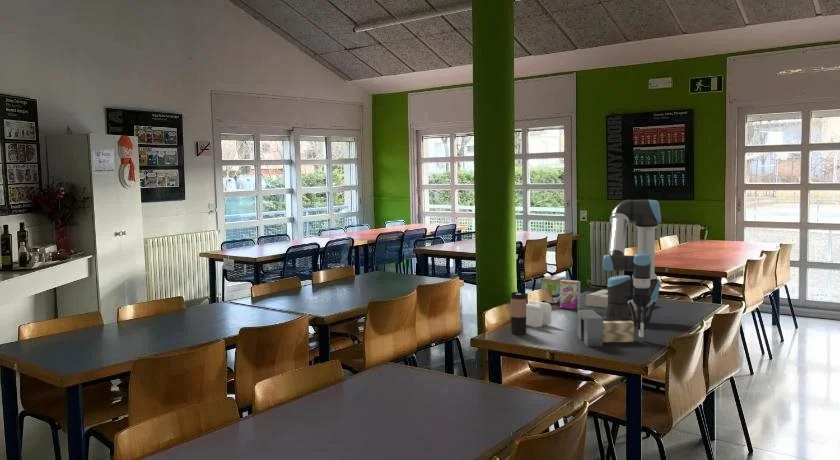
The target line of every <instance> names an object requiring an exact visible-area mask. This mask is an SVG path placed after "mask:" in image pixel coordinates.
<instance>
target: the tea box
mask: <svg viewBox="0 0 840 460" xmlns="http://www.w3.org/2000/svg"><path fill="white" fill-rule="evenodd" d="M565 277H566V276H558V275H549V276H546V277H541V287H540V288H541V289H544V288H548V289H551V292H552V293H551V294H552V298H553V300H554V302H553V301H548V302H547V303H549V304H557V303H559V294H560V280H566V278H565ZM541 289H540V290H541Z"/></svg>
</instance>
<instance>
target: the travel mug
mask: <svg viewBox="0 0 840 460" xmlns="http://www.w3.org/2000/svg"><path fill="white" fill-rule="evenodd" d="M526 304H527V293H526V292H522V291H514V292H513V291H512V292H511V293H510V327H511V328H510V329H511V330H510V333H511V334H513V335H517V336H518V335H519V336H521V335H526V333H527V326H526Z"/></svg>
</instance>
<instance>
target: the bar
mask: <svg viewBox="0 0 840 460" xmlns="http://www.w3.org/2000/svg"><path fill="white" fill-rule="evenodd" d="M634 342H635V322H634V321H633V320H632V321H609V320H603V343H634Z"/></svg>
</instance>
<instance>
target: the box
mask: <svg viewBox="0 0 840 460" xmlns="http://www.w3.org/2000/svg"><path fill="white" fill-rule="evenodd" d="M584 299H585V300H584V301H585V306H587V307H594V308H595V307H596V308H601V309H602V308H604V309H606V307H607V304H608V289H600V290H597V291H594V292H591V293H587V294H585V298H584ZM630 301H631V300H630ZM649 305H650V302H649V304H648V305H647V308H649ZM633 307H634V311H635V313H637V308H636V304H635V303H634V302H633ZM641 310H642V307H641Z"/></svg>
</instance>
